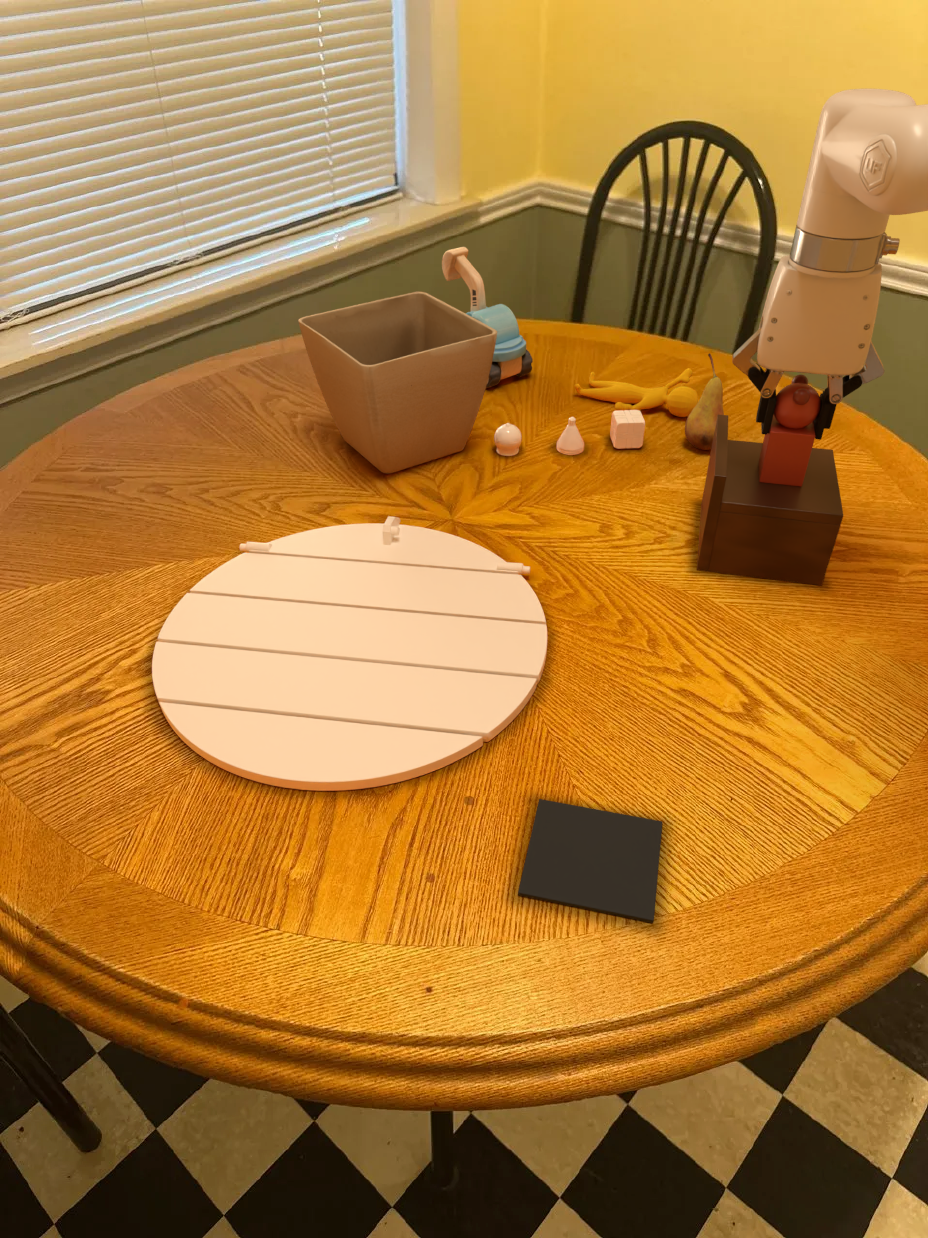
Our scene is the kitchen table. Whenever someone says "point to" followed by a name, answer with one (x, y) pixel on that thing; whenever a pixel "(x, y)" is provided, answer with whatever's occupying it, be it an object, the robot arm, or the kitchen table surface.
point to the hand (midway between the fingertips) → (790, 429)
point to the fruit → (705, 414)
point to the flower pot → (401, 376)
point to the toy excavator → (490, 320)
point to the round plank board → (350, 656)
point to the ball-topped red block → (790, 434)
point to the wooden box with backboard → (767, 515)
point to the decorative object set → (623, 434)
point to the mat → (593, 860)
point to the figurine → (645, 394)
